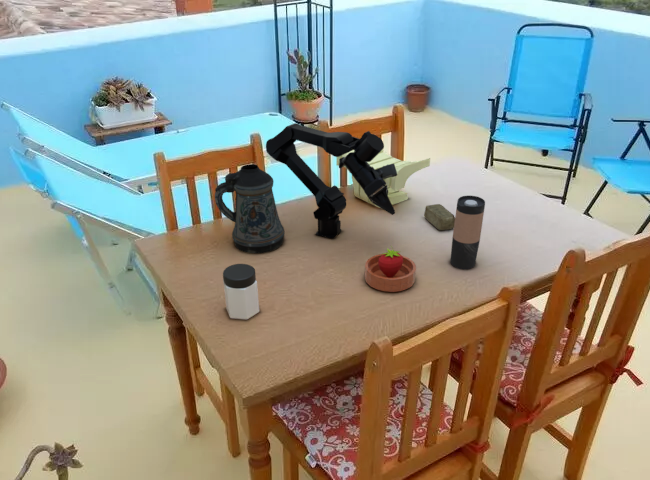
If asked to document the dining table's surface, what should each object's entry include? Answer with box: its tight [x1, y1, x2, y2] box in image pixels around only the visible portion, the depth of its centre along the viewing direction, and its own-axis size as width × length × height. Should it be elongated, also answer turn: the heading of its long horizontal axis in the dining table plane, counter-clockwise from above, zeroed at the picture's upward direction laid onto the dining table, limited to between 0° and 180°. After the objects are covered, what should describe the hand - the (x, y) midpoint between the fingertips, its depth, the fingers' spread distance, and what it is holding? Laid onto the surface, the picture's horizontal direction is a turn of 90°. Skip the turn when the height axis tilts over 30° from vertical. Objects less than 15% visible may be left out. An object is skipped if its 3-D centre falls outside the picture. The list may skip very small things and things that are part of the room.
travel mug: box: [450, 195, 486, 270], centre depth 167 cm, size 8×8×20 cm
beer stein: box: [214, 163, 286, 254], centre depth 178 cm, size 16×19×25 cm
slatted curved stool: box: [336, 149, 431, 209], centre depth 207 cm, size 30×16×18 cm, turn 38°
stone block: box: [423, 203, 455, 231], centre depth 193 cm, size 6×12×5 cm, turn 19°
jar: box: [222, 263, 260, 320], centre depth 150 cm, size 9×8×12 cm
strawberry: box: [378, 245, 403, 278], centre depth 162 cm, size 6×8×10 cm
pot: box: [364, 253, 417, 293], centre depth 164 cm, size 14×14×5 cm
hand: (393, 213), depth 169 cm, fingers open, 9 cm apart
